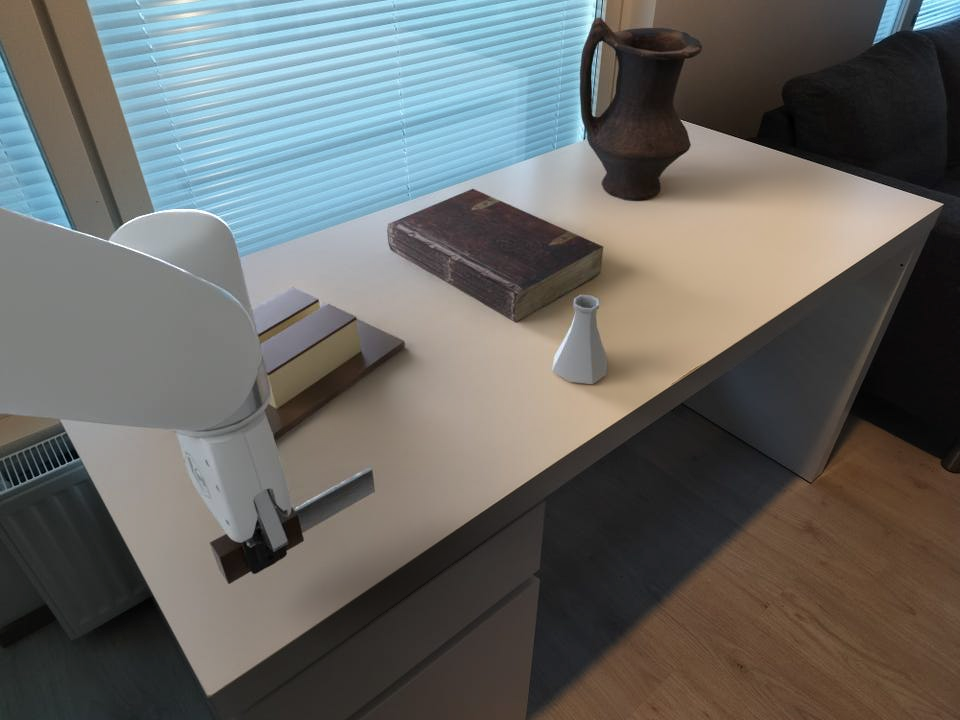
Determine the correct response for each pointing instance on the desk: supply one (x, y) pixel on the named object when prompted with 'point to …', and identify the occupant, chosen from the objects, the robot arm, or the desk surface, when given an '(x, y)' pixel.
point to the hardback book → (496, 252)
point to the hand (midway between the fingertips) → (261, 552)
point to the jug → (637, 107)
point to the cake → (302, 341)
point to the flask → (582, 345)
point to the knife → (296, 522)
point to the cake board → (335, 379)
